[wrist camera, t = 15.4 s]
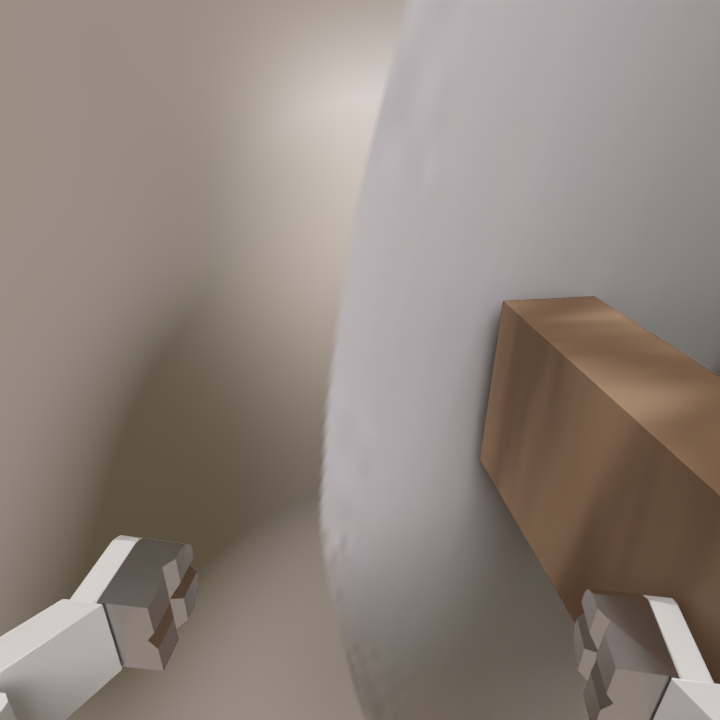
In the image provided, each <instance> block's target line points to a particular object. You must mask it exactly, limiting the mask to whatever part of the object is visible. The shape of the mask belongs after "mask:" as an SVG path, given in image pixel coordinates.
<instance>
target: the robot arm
mask: <svg viewBox="0 0 720 720" xmlns="http://www.w3.org/2000/svg"><path fill="white" fill-rule="evenodd" d="M193 557H194V556H193V552H192V547H191V545H188V544H182V543H175V542H168V541H161V540H154V539H147V538H138V537H130V536H123V535H120V536H118V537H117V538H115V539H114V540H113V541H112V542H111V543H110V545H109V546H108V547H107V549H106V550H105V551H104V553H103V554H102V556H101V557H100V558H99V560H98V561H97V563H96V564H95V565H94V567H93V568H92V569H91V571H90V572H89V574H88V575H87V576H86V578H85V579H84V581H83V582H82V583H81V585H80V586H79V588H78V589H77V590H76V591H75V593H74V594H73V596H72V597H71V599H70V600H67V599H62V600H60V601H59V602H57V603H55V604H54V605H52V606H50V607H49V608H48V609H45V610H44V611H42V612H40V613H39V614H37V615H36V616H34V617H32V618H31V619H29V620H27V621H26V622H24V623H22V624H21V625H19V626H17V627H16V628H14V629H13V630H11V631H9V632H8V633H6V634H4V635H3V636H1V637H0V720H66V719H67V718H68V717H69V716H70V715H71V714H72V713H73V712H75V711H76V710H77V709H78V708H79V707H80V706H81V705H82V704H84V703H85V702H86V701H87V700H88V699H89V698H90V697H92V696H93V695H94V694H95V693H96V692H97V691H98V690H99V689H100V688H102V687H103V686H104V685H105V684H106V683H107V682H108V681H109V680H111V679H112V678H113V677H114V676H115V675H116V674H117V673H118V672H120V671H121V670H122V667H132V668H141V669H150V670H159V671H164V669H165V667H166V665H167V663H168V661H169V659H170V657H171V654H172V652H173V650H174V648H175V646H176V644H177V642H178V635H177V631H176V628H178V627H179V626H180V625H182V624H183V623H184V622H185V621H187V620H188V618H189V616H190V614H191V612H192V610H193V607H194V604H195V600H196V596H197V591H198V578H197V572H196V571H195V570H194V569H193V568H192V567H191V566H190V563H191V561H192V559H193ZM582 606H583V610H584V613H583V614H582V615H580V616H579V617H577V619H576V623H575V627H574V641H573V646H574V654H575V660H576V665H577V669H578V671H579V672H580V674H581V675H582V676H583V677H584V678H585V679H586V680H587V681H588V682H587V685H586V688H585V691H584V694H583V695H584V699H585V703H586V707H587V711H588V715H589V720H720V684H716V683H714V681H713V679H712V677H711V675H710V673H709V671H708V669H707V666H706V664H705V662H704V660H703V658H702V656H701V654H700V651H699V649H698V647H697V645H696V643H695V641H694V638H693V636H692V634H691V632H690V630H689V628H688V626H687V623H686V621H685V619H684V617H683V615H682V613H681V611H680V608H679V606H678V604H677V603H676V602H675V601H674V600H673V599H672V598H666V597H657V596H648V595H641V594H633V593H623V592H613V591H603V590H594V589H587V591H586V592H585V593H584V596H583V599H582Z"/></svg>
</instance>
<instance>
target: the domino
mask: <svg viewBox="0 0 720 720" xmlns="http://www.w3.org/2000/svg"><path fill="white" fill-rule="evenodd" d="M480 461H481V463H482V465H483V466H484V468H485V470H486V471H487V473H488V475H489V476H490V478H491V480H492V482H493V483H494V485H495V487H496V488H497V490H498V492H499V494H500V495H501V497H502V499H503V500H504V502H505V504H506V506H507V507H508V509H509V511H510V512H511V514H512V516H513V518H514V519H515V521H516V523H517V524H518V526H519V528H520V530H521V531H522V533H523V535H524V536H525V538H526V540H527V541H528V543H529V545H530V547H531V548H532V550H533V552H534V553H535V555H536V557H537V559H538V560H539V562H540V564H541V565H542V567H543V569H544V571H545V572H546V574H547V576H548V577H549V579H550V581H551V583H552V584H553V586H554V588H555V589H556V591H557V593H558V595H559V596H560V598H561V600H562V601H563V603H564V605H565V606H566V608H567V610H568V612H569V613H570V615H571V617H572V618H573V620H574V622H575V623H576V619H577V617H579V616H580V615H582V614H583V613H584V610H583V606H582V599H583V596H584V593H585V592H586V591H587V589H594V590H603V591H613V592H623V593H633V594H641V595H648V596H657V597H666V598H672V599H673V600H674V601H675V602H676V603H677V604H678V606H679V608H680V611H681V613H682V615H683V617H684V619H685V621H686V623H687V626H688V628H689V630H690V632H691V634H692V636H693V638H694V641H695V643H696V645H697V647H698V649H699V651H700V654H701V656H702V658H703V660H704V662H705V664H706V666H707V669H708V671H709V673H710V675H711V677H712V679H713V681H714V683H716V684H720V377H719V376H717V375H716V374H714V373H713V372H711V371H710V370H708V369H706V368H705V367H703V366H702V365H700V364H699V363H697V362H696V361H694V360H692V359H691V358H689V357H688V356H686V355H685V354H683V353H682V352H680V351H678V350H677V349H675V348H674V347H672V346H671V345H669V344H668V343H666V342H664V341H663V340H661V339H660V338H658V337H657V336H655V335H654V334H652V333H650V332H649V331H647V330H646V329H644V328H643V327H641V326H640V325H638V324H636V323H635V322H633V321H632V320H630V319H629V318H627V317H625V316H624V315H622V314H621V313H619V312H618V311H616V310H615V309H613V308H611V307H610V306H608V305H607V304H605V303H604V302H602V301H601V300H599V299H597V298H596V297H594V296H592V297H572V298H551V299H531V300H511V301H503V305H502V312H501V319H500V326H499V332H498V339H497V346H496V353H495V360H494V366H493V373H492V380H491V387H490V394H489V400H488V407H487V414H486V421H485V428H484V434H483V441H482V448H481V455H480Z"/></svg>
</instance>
